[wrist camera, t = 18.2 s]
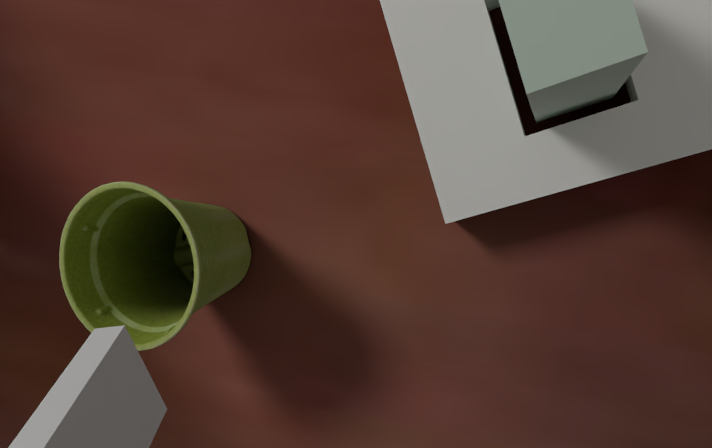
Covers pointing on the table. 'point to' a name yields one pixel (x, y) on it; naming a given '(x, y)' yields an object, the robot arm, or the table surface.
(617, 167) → the socket plate
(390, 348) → the table surface
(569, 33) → the key block
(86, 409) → the robot arm
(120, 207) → the plant pot
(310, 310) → the table surface
